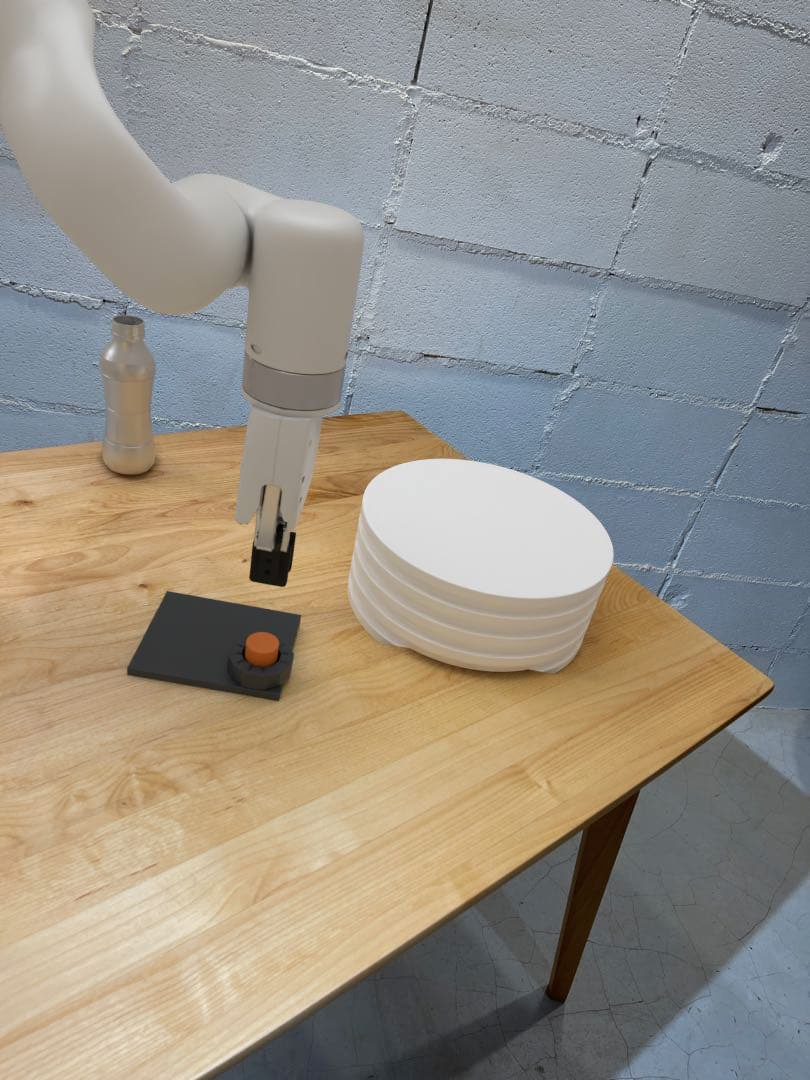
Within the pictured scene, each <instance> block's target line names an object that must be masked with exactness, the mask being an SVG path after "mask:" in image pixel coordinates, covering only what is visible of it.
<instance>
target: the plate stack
mask: <svg viewBox="0 0 810 1080" xmlns="http://www.w3.org/2000/svg"><path fill="white" fill-rule="evenodd" d="M360 506H361V507H360V513H359V517H358V523H357V532H356V534H355V539H354V544H353V552H352V556H351V562H350V568H349V573H348V579H347V586H346V589H347V590H346V592H347V598H348V602H349V605H350V608H351V611H352V612H353V614H354V616H355V618H356V620H357V621H358V622H359V624H360V625H361V627H362V628H363V630H365V632H366V633H367V634H368V635H369V636H370V637H371V638H372V639H373V640H374V641H376V642H377V643H379V644H383V645H390V646H394V647H395V646H396V647H401V648H406V649H410V650H413V651H415V652H416V653H419V654H420V655H423V656H425V657H428V658H430V659H433V660H435V661H439V662H441V663H443V664H448V665H451V666H455V667H459V668H464V669H468V670H469V669H470V670H473V671H474V670H476V671H482V672H494V673H495V672H497V673H499V672H501V673H504V672H505V673H506V672H519V671H526V670H529V671H534V672H539V673H547V674H552V675H555V674H557V673H558V672H560V671H562V670H563V669H564V668H565V667H567V666H568V665H570V663H571V662H572V661H573V660H574V659H575V657H576V656H577V655H578V653H579V651H580V648H581V646H582V644H583V641H584V638H585V635H586V632H587V631H588V628H589V626H590V623H591V621H592V617H593V615H594V612H595V610H596V607H597V605H598V602H599V598H600V596H601V594H602V592H603V590H604V587H605V583H606V580H607V578H608V576H609V574H610V571H611V569H612V566H613V563H614V554H615V553H614V552H615V551H614V546H613V542H612V540H611V537H610V535H609V533H608V532H607V530H606V528H605V527H604V525H603V524H602V523H601V521H600V520H599V518H597V517H596V516H595V515H594V513H592V512H591V511H590V510H589V509H588V508H587V507H586V506H585V505H583V504H582V503H581V502H579V501H578V500H576V499H575V498H574V497H572V496H571V495H569V494H567V493H566V492H564V491H562V490H561V489H559V488H557V487H556V486H553V485H552V484H550V483H548V482H545V481H543V480H541V479H539V478H537V477H534V476H532V475H529V474H526V473H523V472H521V471H518V470H514V469H511V468H508V467H504V466H500V465H496V464H493V463H492V464H491V463H488V462H483V461H482V462H481V461H476V460H469V459H458V458H428V459H427V458H425V459H418V460H412V461H408V462H407V461H406V462H402V463H399V464H397V465H394V466H391V467H389V468H387V469H385V470H383V471H381V472H380V473H379V474H376V476H375V477H373V478H372V480H371V481H370V482H369V483H368V484H367V486H366V488H365V490H364V492H363V496H362V500H361V505H360Z"/></svg>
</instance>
